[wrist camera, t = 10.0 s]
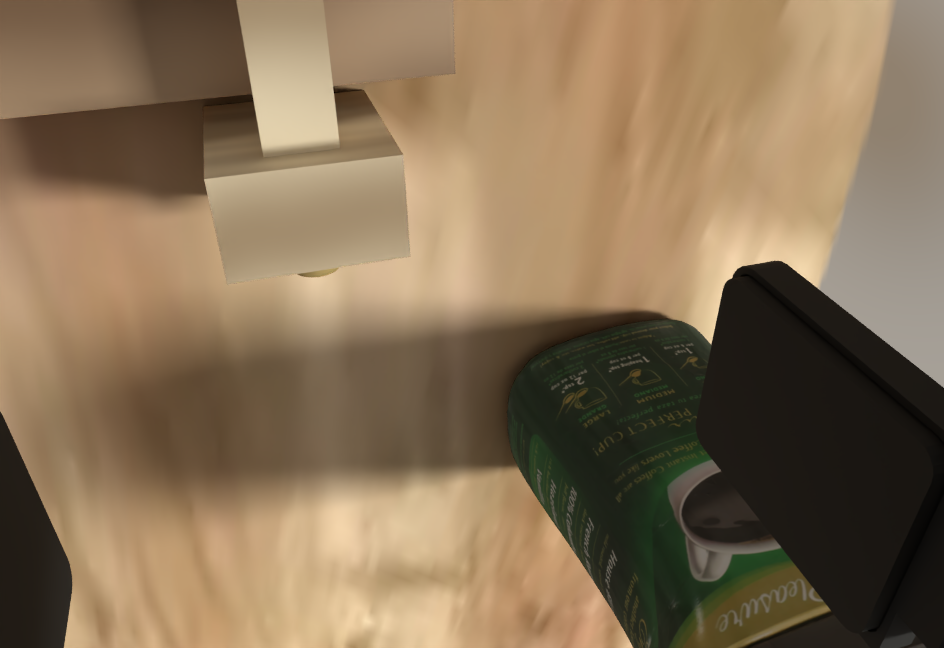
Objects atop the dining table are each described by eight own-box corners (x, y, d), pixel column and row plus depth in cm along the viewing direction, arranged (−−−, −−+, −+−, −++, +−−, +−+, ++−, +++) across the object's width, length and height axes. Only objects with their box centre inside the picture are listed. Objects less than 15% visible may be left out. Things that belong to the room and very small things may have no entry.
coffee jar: (507, 482, 37) (720, 938, 22) (494, 346, 32) (751, 804, 17) (693, 428, 38) (1008, 816, 24) (705, 293, 34) (1103, 666, 19)
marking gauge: (126, -258, 19) (102, -284, 14) (331, -258, 20) (373, -281, 15) (226, 219, 26) (232, 310, 21) (374, 199, 27) (412, 281, 22)
